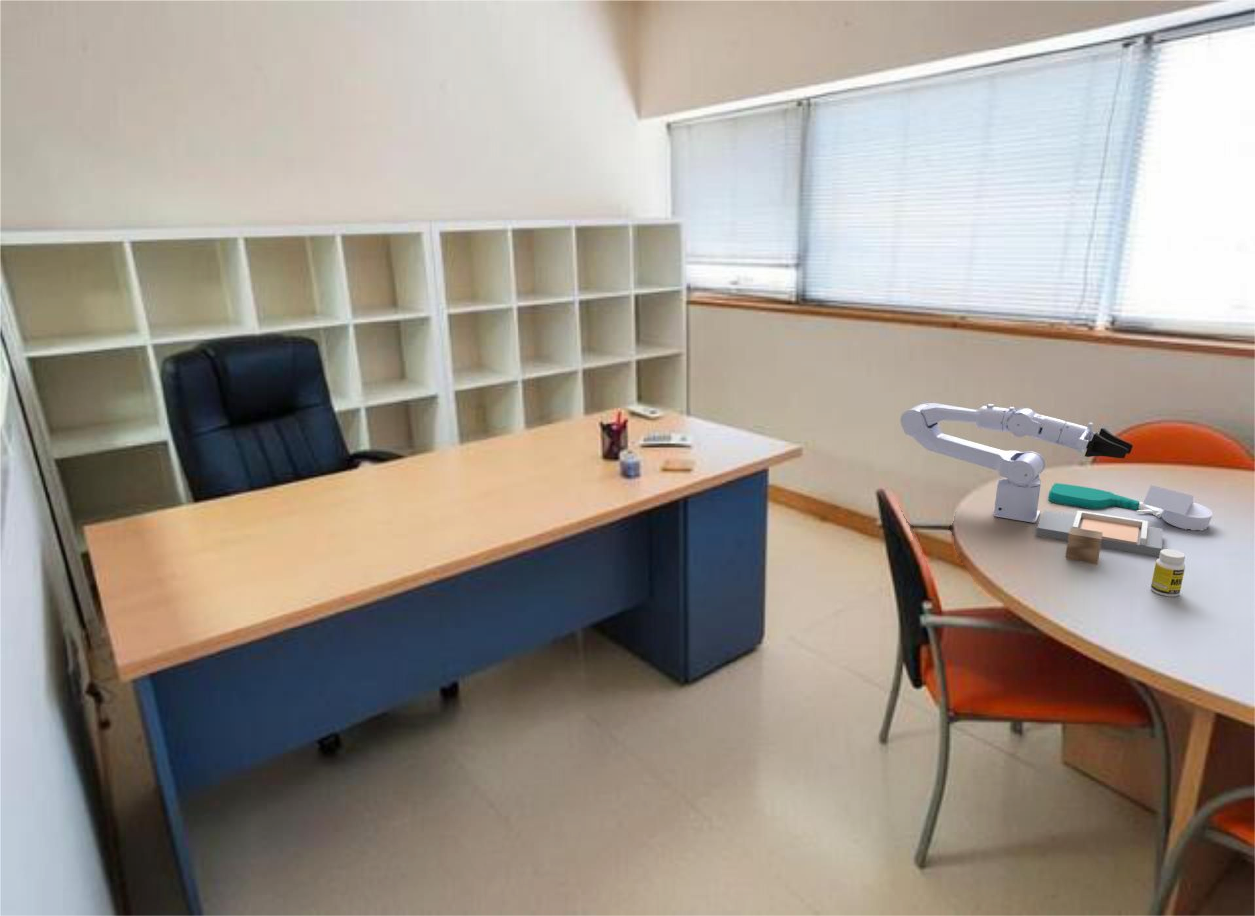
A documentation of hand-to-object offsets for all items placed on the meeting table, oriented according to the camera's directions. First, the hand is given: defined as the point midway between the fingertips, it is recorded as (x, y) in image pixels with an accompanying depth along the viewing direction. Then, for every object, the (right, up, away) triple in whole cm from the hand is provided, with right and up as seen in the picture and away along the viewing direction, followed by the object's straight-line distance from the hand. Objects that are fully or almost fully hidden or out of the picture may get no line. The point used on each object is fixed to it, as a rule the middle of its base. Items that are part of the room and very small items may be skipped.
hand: (1128, 451), depth 167 cm
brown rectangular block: (-12, -23, -3) cm, 27 cm away
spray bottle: (+10, -14, +24) cm, 29 cm away
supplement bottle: (-5, -28, -18) cm, 34 cm away
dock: (-3, -20, +6) cm, 21 cm away
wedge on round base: (+19, -16, +12) cm, 28 cm away
